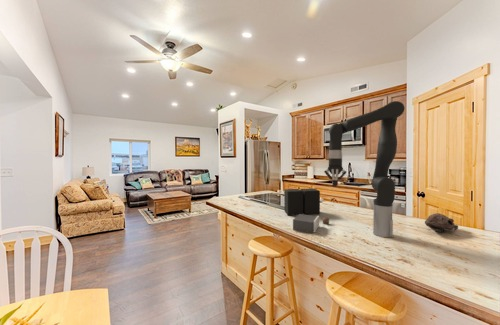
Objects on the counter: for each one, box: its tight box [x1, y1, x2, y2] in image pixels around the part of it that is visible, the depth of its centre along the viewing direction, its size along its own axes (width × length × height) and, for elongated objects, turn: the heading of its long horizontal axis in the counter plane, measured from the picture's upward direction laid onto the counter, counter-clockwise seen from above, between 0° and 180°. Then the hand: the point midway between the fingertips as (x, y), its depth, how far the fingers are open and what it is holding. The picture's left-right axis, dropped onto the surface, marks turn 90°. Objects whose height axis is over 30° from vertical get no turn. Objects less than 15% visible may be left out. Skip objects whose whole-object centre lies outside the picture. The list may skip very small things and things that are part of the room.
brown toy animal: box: [424, 212, 459, 233], centre depth 127 cm, size 25×12×10 cm, turn 121°
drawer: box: [313, 215, 320, 233], centre depth 135 cm, size 9×13×6 cm
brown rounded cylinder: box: [322, 217, 330, 225], centre depth 144 cm, size 4×4×4 cm
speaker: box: [283, 188, 321, 216], centre depth 170 cm, size 25×11×19 cm, turn 95°
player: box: [292, 213, 318, 234], centre depth 136 cm, size 12×14×6 cm
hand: (335, 186), depth 130 cm, fingers closed
